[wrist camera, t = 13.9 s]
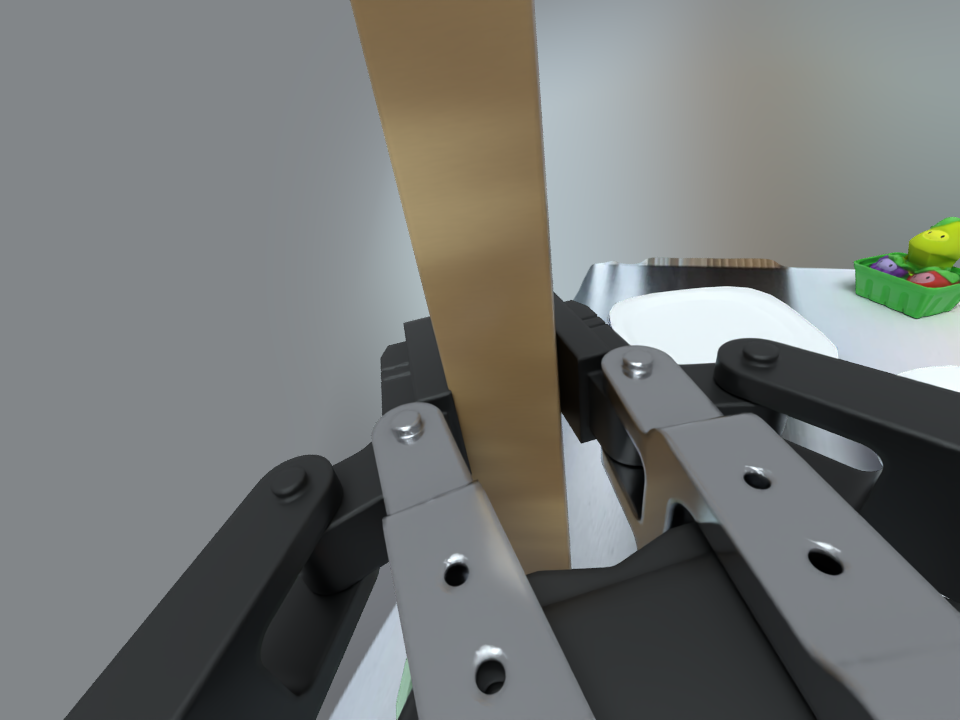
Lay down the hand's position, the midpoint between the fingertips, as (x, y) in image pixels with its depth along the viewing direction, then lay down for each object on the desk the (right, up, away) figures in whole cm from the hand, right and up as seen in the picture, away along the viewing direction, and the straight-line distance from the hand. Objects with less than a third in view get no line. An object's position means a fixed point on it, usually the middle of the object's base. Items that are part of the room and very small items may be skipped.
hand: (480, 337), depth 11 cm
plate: (+33, +3, +48) cm, 58 cm away
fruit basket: (+61, +8, +48) cm, 78 cm away
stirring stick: (+3, -11, +4) cm, 12 cm away
